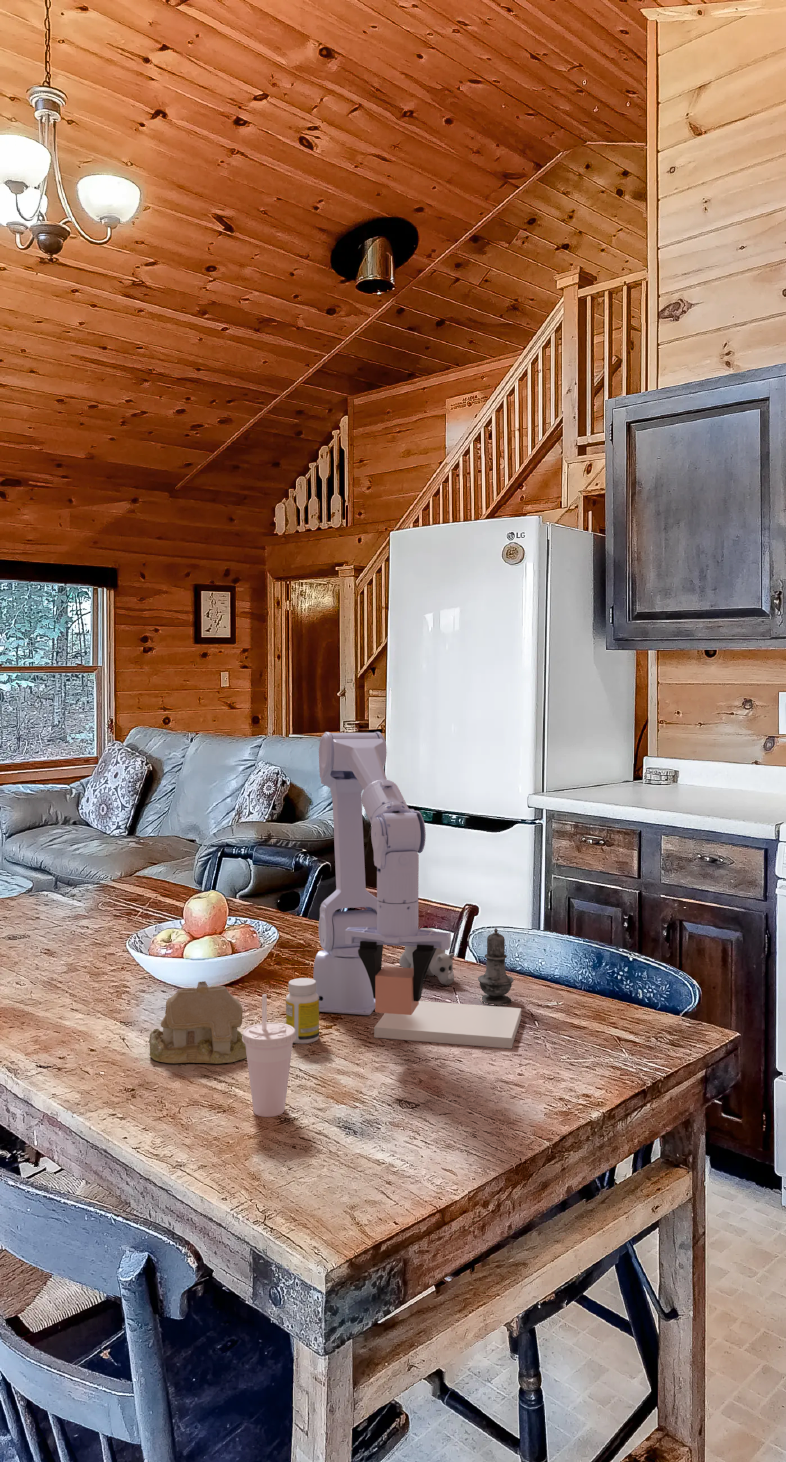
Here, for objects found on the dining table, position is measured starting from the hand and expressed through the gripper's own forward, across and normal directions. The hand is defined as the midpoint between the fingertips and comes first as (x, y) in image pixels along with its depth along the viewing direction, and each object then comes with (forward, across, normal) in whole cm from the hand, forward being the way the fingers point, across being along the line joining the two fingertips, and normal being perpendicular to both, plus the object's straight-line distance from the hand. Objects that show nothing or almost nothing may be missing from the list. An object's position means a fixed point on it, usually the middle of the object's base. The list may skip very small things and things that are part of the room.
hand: (397, 997), depth 137 cm
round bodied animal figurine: (+9, -3, +39) cm, 40 cm away
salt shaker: (+8, +10, +29) cm, 32 cm away
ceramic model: (+9, -27, -5) cm, 29 cm away
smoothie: (+8, -11, -21) cm, 25 cm away
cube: (+1, 0, 0) cm, 1 cm away
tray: (+8, +5, +14) cm, 17 cm away
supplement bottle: (+8, -15, +4) cm, 18 cm away
